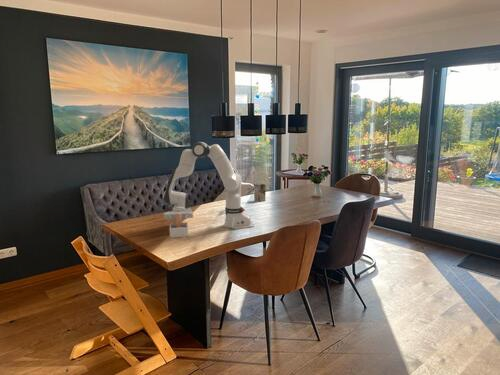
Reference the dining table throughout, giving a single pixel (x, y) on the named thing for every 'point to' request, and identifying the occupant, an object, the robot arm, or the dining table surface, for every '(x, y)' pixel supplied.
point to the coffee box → (259, 192)
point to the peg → (178, 220)
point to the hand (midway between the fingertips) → (178, 218)
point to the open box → (178, 230)
